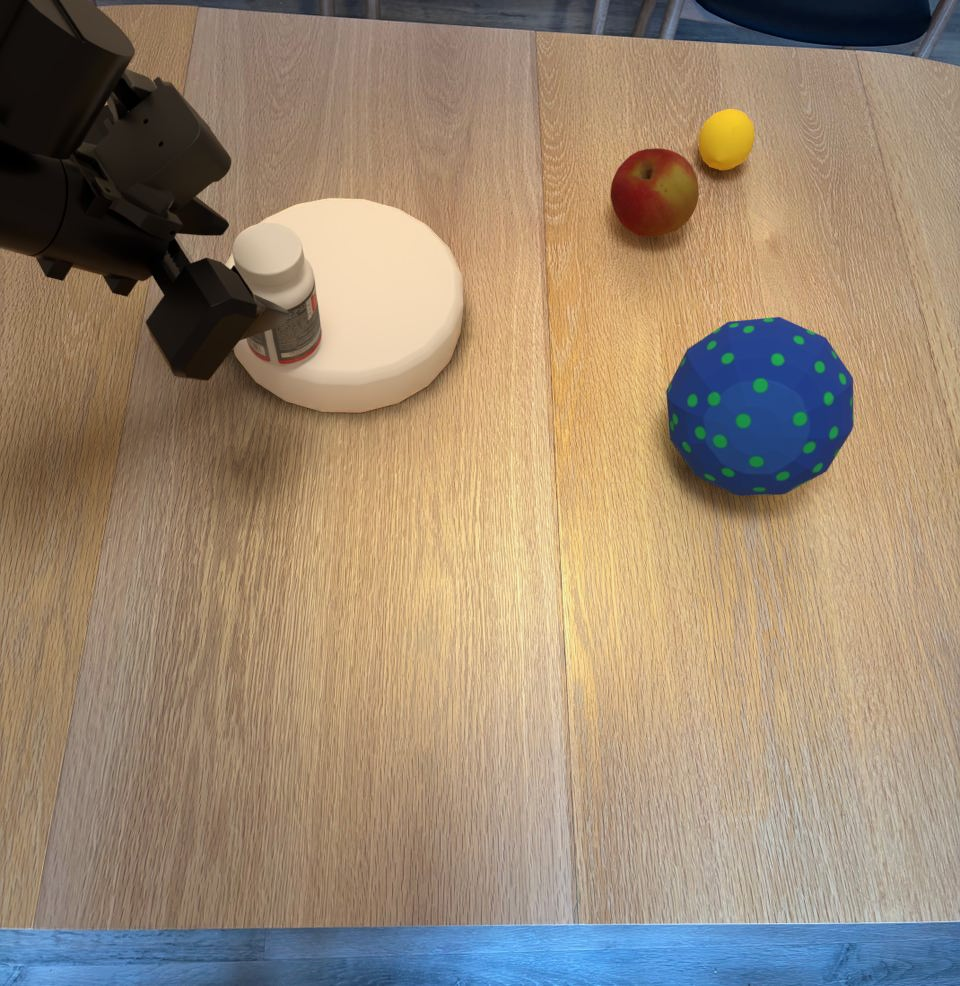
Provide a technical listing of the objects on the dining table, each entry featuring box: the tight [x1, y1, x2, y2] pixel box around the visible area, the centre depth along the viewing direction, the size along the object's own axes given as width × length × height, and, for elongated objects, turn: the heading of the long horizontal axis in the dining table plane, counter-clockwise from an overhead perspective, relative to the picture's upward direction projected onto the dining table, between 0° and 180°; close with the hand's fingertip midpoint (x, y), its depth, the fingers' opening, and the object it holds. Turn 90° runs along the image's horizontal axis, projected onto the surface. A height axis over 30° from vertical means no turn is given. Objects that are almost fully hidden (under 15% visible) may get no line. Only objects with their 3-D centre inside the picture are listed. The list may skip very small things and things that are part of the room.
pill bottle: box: [231, 222, 322, 366], centre depth 62 cm, size 6×6×10 cm
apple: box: [609, 147, 700, 238], centre depth 79 cm, size 8×8×8 cm
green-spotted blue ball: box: [665, 316, 855, 497], centre depth 67 cm, size 14×14×15 cm
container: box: [224, 197, 464, 414], centre depth 72 cm, size 20×20×5 cm
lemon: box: [698, 108, 756, 171], centre depth 85 cm, size 7×5×5 cm
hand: (254, 272), depth 59 cm, fingers open, 9 cm apart
